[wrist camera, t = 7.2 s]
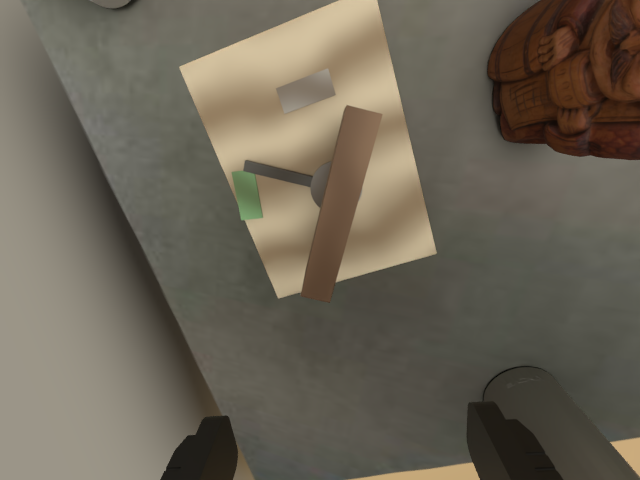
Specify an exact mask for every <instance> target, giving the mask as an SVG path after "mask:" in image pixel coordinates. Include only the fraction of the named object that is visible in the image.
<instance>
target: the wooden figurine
mask: <svg viewBox="0 0 640 480" xmlns="http://www.w3.org/2000/svg"><path fill="white" fill-rule="evenodd" d="M488 76H489V77H490V78H491V79H493V80H494V90H493V109H494V111H495V113H496V114H497V115H499V116H501V117H500V125H501V131H502V135H503V137H504V139H505V140H507V141H510V142H514V143H526V144H547V145H548V146H550V147H551V148H552V149H553V150H554V151H556V152H559V153H563V154H567V155H572V156H579V157H582V156H589V155H592V156H595V157H601V158H614V159H626V160H640V0H540V1H539V2H537V3H536V4H534V5H533V6H532V7H530V8H529V9H527V10H526V11H525V12H524V13H523V14H522V15H520V16H519V17H518V18H517V19H516V20H515V21H513V22H512V23H511V24H510V25H509V26H508V27H507V29H506V30H505V31H504V33H503V34H502V36H501V37H500V38H499V40H498V42H497V43H496V45H495V47H494V49H493V51H492V53H491V56H490V60H489V63H488Z"/></svg>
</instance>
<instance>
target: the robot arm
mask: <svg viewBox="0 0 640 480" xmlns="http://www.w3.org/2000/svg"><path fill="white" fill-rule="evenodd" d="M467 444H468V449H469V453H470V456H471V459H472V461H473V464H474V466H475V468H476V471H477V473H478V476H479V478H480V480H640V477H639V476H638V474H637V473H636V472H635V471H634V470H633V469H632V467H631V466H630V465H629V464H628V463H627V462H626V461H625V459H624V458H623V457H622V456H621V455H620V454H619V452H618V451H617V450H616V449H615V448H614V447H613V446H612V444H611V443H610V442H609V441H608V440H607V439H606V438H605V436H604V435H603V434H602V433H601V432H600V431H599V429H598V428H597V427H596V426H595V425H594V424H593V423H592V421H591V420H590V419H589V418H588V417H587V416H586V415H585V413H584V412H583V411H582V410H581V409H580V408H579V406H578V405H577V404H576V403H575V402H574V401H573V399H572V398H571V397H570V396H569V395H568V394H567V393H566V391H565V390H564V389H563V388H562V387H561V386H560V385H559V383H558V382H557V381H556V380H555V379H554V378H553V377H552V376H551V375H550V374H549V373H547V372H546V371H544V370H541V369H538V368H533V367H521V368H515V369H512V370H508V371H506V372H504V373H502V374H500V375H499V376H497V377H496V378H495V379H493V381H492V382H491V383H490V384H489V385H488V387H487V388H486V390H485V393H484V402H470V403H469V404H468V416H467ZM237 458H238V450H237V445H236V441H235V437H234V434H233V430H232V427H231V423H230V420H229V417H228V416H213V417H212V416H211V417H205V418H204V419H203V420H202V422H201V424H200V426H199V429H198V431H197V433H196V435H189V436H187V437H186V439H184V441H183V442H182V443H181V444H180V445H179V446H178V447H177V449H176V450H175V451H174V453H173V455H172V457H171V459H170V461H169V463H168V466H167V467H166V471H164V473H163V476H162V477H161V479H160V480H233V477H234V474H235V470H236V466H237Z"/></svg>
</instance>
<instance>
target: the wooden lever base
mask: <svg viewBox="0 0 640 480" xmlns="http://www.w3.org/2000/svg"><path fill="white" fill-rule="evenodd" d="M179 68H180V70H181V72H182V75H183V77H184V79H185V82H186V84H187V86H188V89H189V91H190V93H191V96H192V98H193V100H194V103H195V105H196V107H197V110H198V112H199V114H200V117H201V119H202V122H203V124H204V126H205V129H206V131H207V133H208V136H209V138H210V140H211V143H212V145H213V147H214V150H215V152H216V154H217V157H218V159H219V161H220V164H221V166H222V168H223V171H224V173H225V175H226V178H227V180H228V182H229V185H230V187H231V189H232V192H233V194H234V196H235V199H236V201H237V203H238V207H239V211H240V216H241V220H245V222H246V224H247V227H248V229H249V231H250V234H251V236H252V238H253V241H254V243H255V245H256V248H257V250H258V252H259V255H260V257H261V259H262V262H263V264H264V266H265V269H266V271H267V273H268V276H269V278H270V280H271V283H272V285H273V287H274V290H275V292H276V294H277V297H278V298H282V297H285V296H289V295H292V294H296V293H299V292H301V291H302V286H303V281H304V276H305V270H306V266H307V262H308V258H309V253H310V249H311V245H312V241H313V237H314V233H315V228H316V224H317V220H318V216H319V212H320V208H319V207H318V206H317V205H316V203H315V202H314V200H313V198H312V195H311V190H310V187H307V186H303V185H299V184H294V183H290V182H286V181H282V180H278V179H274V178H269V177H265V176H261V175H257V174H253V173H249V172H244V171H243V169H244V163H245V160H248V161H253V162H257V163H261V164H265V165H269V166H273V167H277V168H282V169H286V170H290V171H294V172H298V173H302V174H306V175H311V176H314V174H315V172H316V171H317V170H318V168H320V167H321V166H322V165H324V164H325V163H328V162H331V161H332V158H333V154H334V149H335V145H336V141H337V137H338V133H339V129H340V125H341V120H342V116H343V112H344V109H345V107H346V105H349V106H353V107H357V108H361V109H365V110H369V111H373V112H377V113H381V114H383V115H382V119H381V122H380V126H379V129H378V133H377V136H376V140H375V144H374V147H373V151H372V154H371V158H370V161H369V165H368V168H367V172H366V176H365V179H364V183H363V186H362V194H361V197H360V199H359V201H358V204H357V208H356V211H355V215H354V218H353V222H352V226H351V229H350V233H349V236H348V240H347V243H346V247H345V250H344V254H343V258H342V261H341V265H340V268H339V272H338V275H337V279H336V282H338V281H342V280H345V279H349V278H352V277H356V276H360V275H363V274H367V273H370V272H374V271H377V270H381V269H384V268H388V267H391V266H395V265H398V264H402V263H405V262H409V261H413V260H416V259H420V258H423V257H427V256H430V255H434V254H437V253H436V248H435V244H434V240H433V236H432V231H431V227H430V223H429V219H428V214H427V210H426V206H425V202H424V197H423V193H422V189H421V185H420V180H419V176H418V172H417V168H416V163H415V159H414V155H413V151H412V147H411V142H410V138H409V134H408V130H407V125H406V121H405V117H404V113H403V108H402V104H401V100H400V96H399V91H398V87H397V83H396V79H395V74H394V70H393V66H392V62H391V57H390V53H389V49H388V45H387V41H386V36H385V32H384V28H383V24H382V19H381V15H380V11H379V7H378V2H377V0H339V1H337V2H334V3H332V4H329V5H327V6H325V7H322V8H320V9H317V10H315V11H313V12H310V13H308V14H305V15H303V16H300V17H298V18H296V19H293V20H291V21H288V22H286V23H284V24H281V25H279V26H276V27H274V28H272V29H269V30H267V31H264V32H262V33H259V34H257V35H255V36H252V37H250V38H247V39H245V40H243V41H240V42H238V43H235V44H233V45H231V46H228V47H226V48H223V49H221V50H218V51H216V52H214V53H211V54H209V55H206V56H204V57H202V58H199V59H197V60H194V61H192V62H190V63H187V64H185V65H182V66H180V67H179Z"/></svg>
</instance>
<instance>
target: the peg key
mask: <svg viewBox="0 0 640 480" xmlns="http://www.w3.org/2000/svg"><path fill="white" fill-rule="evenodd" d="M382 115H383V114H381V113H377V112H373V111H369V110H365V109H361V108H357V107H353V106H349V105H346V107H345V109H344V112H343V116H342V120H341V125H340V129H339V133H338V137H337V141H336V145H335V149H334V154H333V158H332V161H331V162H328V163H325V164H324V165H322V166H321V167H320V168H318V170H317V171H316V172H315V174H314V176H311V175H306V174H302V173H298V172H294V171H290V170H286V169H282V168H277V167H273V166H269V165H265V164H261V163H257V162H253V161H248V160H245V163H244V169H243V171H244V172H249V173H253V174H257V175H261V176H265V177H269V178H274V179H278V180H282V181H286V182H290V183H294V184H299V185H303V186H307V187H310V190H311V195H312V198H313V200H314V202H315V203H316V205H317V206H318V207H319V208H320V212H319V216H318V220H317V224H316V228H315V233H314V237H313V241H312V245H311V249H310V253H309V258H308V262H307V266H306V270H305V276H304V281H303V286H302V291H301V296H302V297H306V298H311V299H315V300H320V301H324V302H328V303H330V300H331V297H332V293H333V290H334V286H335V283H336V279H337V275H338V272H339V268H340V265H341V261H342V258H343V254H344V250H345V247H346V243H347V240H348V236H349V233H350V229H351V226H352V222H353V218H354V215H355V211H356V208H357V204H358V201H359V199H360V197H361V194H362V186H363V183H364V179H365V176H366V172H367V168H368V165H369V161H370V158H371V154H372V151H373V147H374V144H375V140H376V136H377V133H378V129H379V126H380V122H381V119H382Z"/></svg>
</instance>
